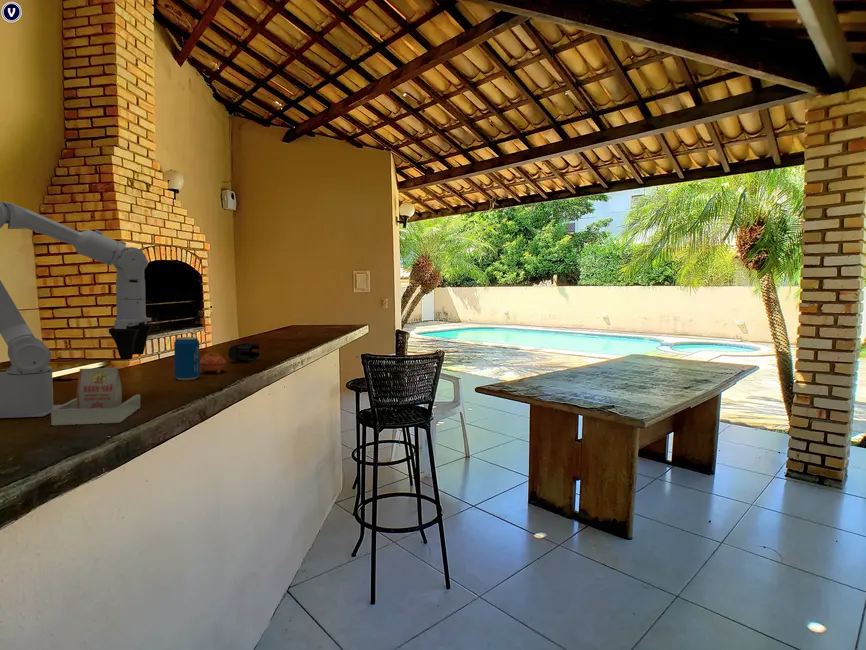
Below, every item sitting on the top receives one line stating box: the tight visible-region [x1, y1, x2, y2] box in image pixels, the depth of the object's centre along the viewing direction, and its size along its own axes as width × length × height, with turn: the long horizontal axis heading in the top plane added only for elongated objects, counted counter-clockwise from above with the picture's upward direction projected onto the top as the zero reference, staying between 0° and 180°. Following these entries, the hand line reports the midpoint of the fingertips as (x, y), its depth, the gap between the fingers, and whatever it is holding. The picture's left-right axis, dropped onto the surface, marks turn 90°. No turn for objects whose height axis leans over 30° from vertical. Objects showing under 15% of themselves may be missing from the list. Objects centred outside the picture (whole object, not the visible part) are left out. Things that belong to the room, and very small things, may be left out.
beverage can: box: [173, 336, 201, 381], centre depth 135 cm, size 6×6×12 cm
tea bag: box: [76, 367, 123, 408], centre depth 97 cm, size 4×7×10 cm, turn 105°
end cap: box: [227, 341, 261, 365], centre depth 167 cm, size 10×7×7 cm
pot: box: [200, 352, 227, 375], centre depth 145 cm, size 8×8×7 cm
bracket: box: [50, 393, 141, 426], centre depth 96 cm, size 12×12×3 cm
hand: (132, 356), depth 109 cm, fingers open, 7 cm apart
